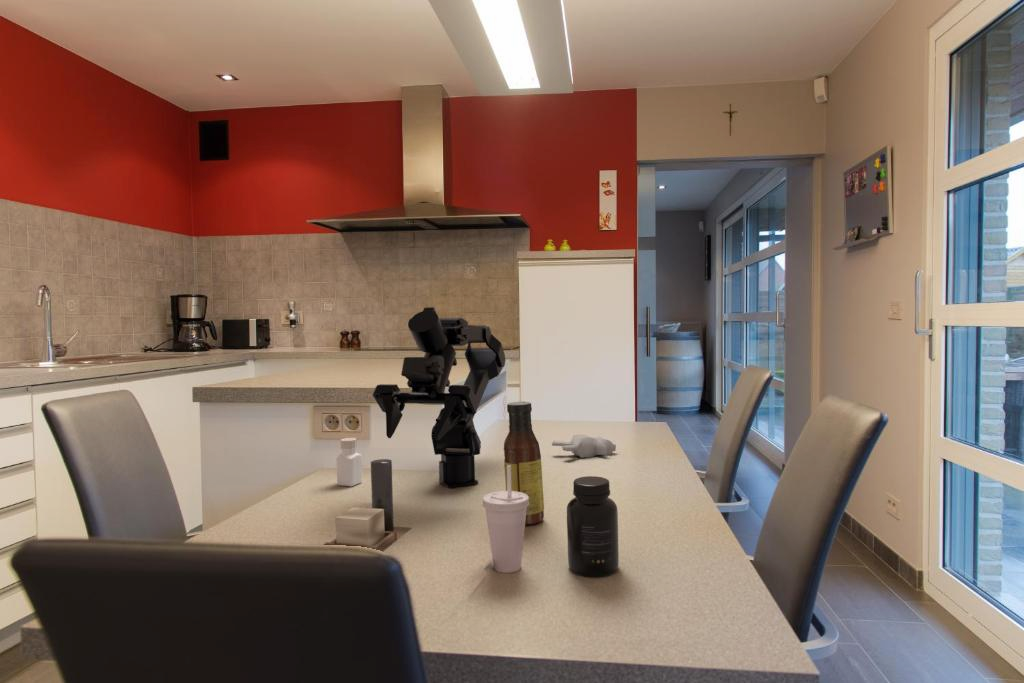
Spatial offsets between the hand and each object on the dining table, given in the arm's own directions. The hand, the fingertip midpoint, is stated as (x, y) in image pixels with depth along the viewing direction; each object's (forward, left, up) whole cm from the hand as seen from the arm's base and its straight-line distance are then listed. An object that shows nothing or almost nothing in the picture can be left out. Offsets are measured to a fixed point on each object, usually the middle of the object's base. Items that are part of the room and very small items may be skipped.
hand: (412, 437), depth 107 cm
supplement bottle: (-14, +34, -14) cm, 40 cm away
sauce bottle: (-15, +12, -14) cm, 24 cm away
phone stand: (+10, +12, -13) cm, 21 cm away
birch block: (+12, +14, -12) cm, 22 cm away
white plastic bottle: (+6, -27, -14) cm, 31 cm away
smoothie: (-4, +28, -14) cm, 32 cm away
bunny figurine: (-50, -23, -14) cm, 57 cm away
